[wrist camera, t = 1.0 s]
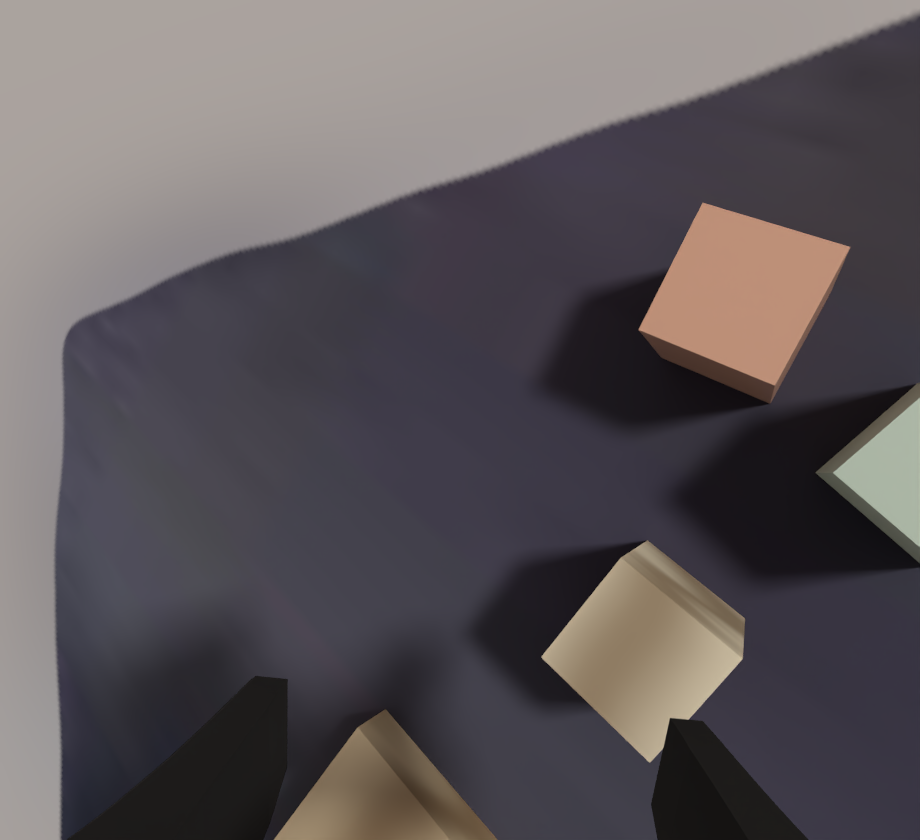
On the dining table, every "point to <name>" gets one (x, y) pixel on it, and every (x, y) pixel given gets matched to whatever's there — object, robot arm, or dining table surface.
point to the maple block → (648, 647)
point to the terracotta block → (741, 299)
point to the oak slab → (383, 794)
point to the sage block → (885, 472)
